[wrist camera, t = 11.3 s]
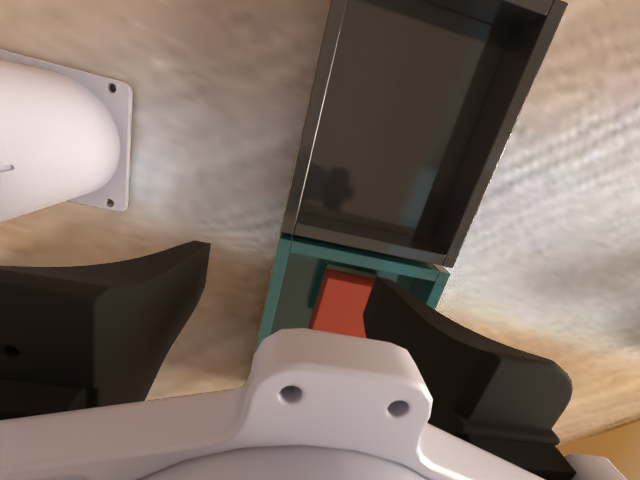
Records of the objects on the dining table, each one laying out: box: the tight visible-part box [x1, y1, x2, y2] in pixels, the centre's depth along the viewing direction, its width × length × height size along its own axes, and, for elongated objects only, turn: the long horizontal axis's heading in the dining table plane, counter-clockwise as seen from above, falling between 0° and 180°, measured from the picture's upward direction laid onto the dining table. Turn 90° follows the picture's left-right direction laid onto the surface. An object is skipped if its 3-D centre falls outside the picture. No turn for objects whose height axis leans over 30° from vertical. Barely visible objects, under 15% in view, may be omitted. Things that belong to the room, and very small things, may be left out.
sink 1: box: [248, 223, 450, 377], centre depth 24 cm, size 12×15×3 cm
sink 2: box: [281, 0, 568, 268], centre depth 18 cm, size 12×15×3 cm
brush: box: [308, 264, 379, 338], centre depth 23 cm, size 5×11×3 cm, turn 165°
